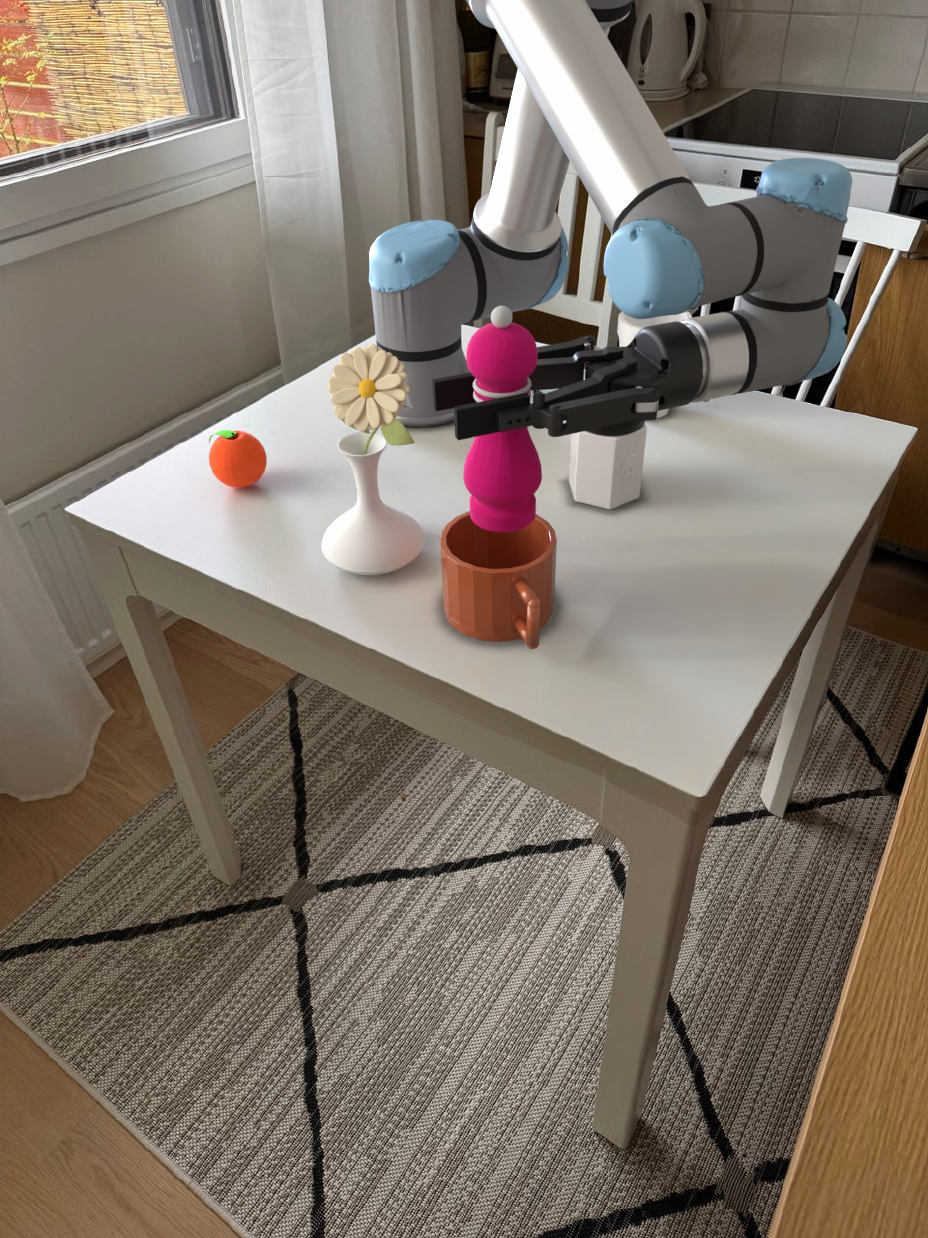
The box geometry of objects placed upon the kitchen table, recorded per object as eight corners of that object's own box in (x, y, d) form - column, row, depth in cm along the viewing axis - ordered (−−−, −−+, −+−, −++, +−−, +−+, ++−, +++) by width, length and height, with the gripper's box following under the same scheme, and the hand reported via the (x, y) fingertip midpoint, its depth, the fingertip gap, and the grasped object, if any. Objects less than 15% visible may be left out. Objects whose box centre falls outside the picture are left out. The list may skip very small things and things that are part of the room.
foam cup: (624, 388, 131) (632, 299, 122) (687, 400, 127) (700, 308, 119) (602, 417, 124) (609, 324, 116) (668, 429, 121) (680, 335, 112)
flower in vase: (302, 557, 101) (264, 340, 85) (377, 514, 107) (354, 304, 91) (382, 605, 94) (358, 378, 78) (457, 556, 100) (449, 337, 84)
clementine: (196, 487, 113) (184, 436, 108) (234, 462, 117) (223, 412, 113) (246, 504, 110) (234, 451, 105) (282, 477, 114) (273, 426, 110)
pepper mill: (520, 543, 82) (522, 329, 70) (451, 524, 85) (440, 314, 72) (553, 505, 87) (560, 298, 74) (486, 488, 90) (483, 285, 77)
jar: (596, 517, 105) (604, 423, 97) (553, 487, 110) (557, 396, 103) (654, 493, 109) (665, 401, 101) (610, 465, 114) (617, 375, 106)
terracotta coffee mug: (429, 587, 96) (425, 520, 90) (527, 564, 98) (528, 497, 93) (479, 678, 85) (478, 607, 79) (588, 649, 88) (593, 578, 82)
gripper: (733, 443, 79) (483, 499, 73) (633, 363, 92) (415, 405, 86) (747, 361, 74) (481, 413, 68) (640, 289, 87) (410, 328, 81)
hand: (445, 409), depth 77 cm, fingers closed on pepper mill, 5 cm apart
